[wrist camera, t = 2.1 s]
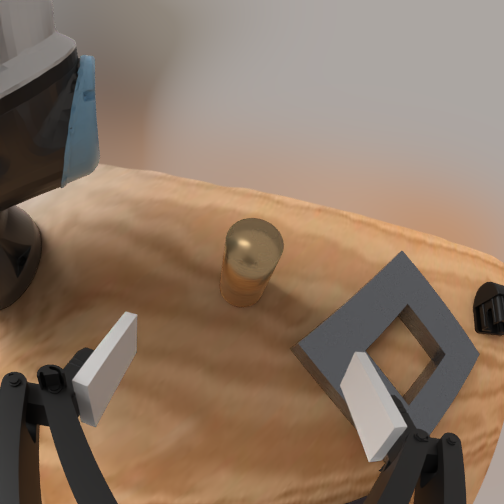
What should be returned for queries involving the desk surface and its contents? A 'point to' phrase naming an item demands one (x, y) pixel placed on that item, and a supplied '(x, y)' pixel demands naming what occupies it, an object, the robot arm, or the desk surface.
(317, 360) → the frame
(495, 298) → the end cap
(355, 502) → the calculator
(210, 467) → the desk surface
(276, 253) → the metal cylinder
